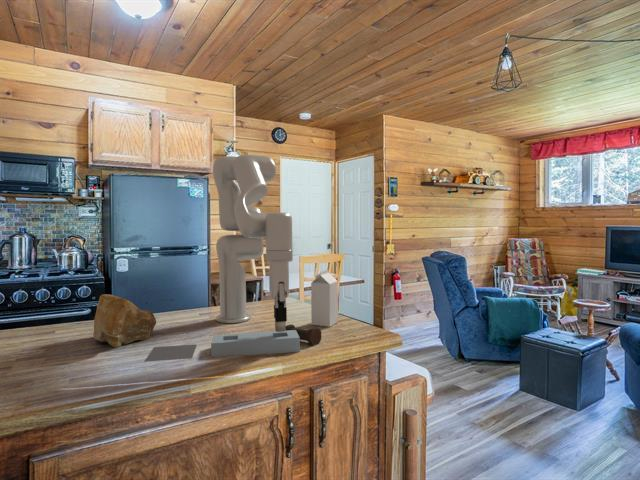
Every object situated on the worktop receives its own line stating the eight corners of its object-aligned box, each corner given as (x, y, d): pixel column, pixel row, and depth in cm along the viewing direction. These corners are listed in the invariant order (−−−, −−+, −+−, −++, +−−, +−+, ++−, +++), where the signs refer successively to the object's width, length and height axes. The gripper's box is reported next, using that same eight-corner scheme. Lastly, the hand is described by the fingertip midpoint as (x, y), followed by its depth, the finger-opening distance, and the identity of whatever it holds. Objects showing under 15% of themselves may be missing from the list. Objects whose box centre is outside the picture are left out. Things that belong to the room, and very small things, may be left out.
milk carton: (337, 322, 144) (337, 270, 143) (329, 327, 138) (329, 272, 137) (319, 320, 147) (319, 269, 146) (311, 325, 141) (310, 271, 140)
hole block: (211, 358, 108) (211, 343, 108) (213, 348, 116) (213, 335, 115) (299, 351, 112) (299, 337, 112) (295, 343, 120) (295, 329, 120)
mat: (154, 348, 116) (154, 347, 116) (197, 345, 119) (196, 344, 119) (144, 362, 105) (144, 361, 105) (192, 359, 107) (192, 357, 107)
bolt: (281, 341, 128) (318, 348, 119) (271, 337, 125) (309, 344, 116) (286, 324, 131) (323, 329, 122) (277, 319, 127) (314, 324, 118)
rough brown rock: (163, 348, 119) (166, 297, 120) (100, 354, 110) (103, 299, 110) (145, 333, 138) (147, 289, 139) (90, 337, 128) (93, 291, 129)
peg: (274, 329, 116) (274, 295, 116) (285, 328, 117) (284, 294, 116) (275, 332, 113) (275, 297, 113) (286, 331, 114) (285, 296, 113)
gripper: (264, 254, 121) (265, 314, 122) (267, 259, 105) (269, 328, 106) (289, 253, 123) (289, 313, 124) (296, 258, 107) (297, 326, 108)
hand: (280, 319), depth 115 cm, fingers closed on peg, 3 cm apart
